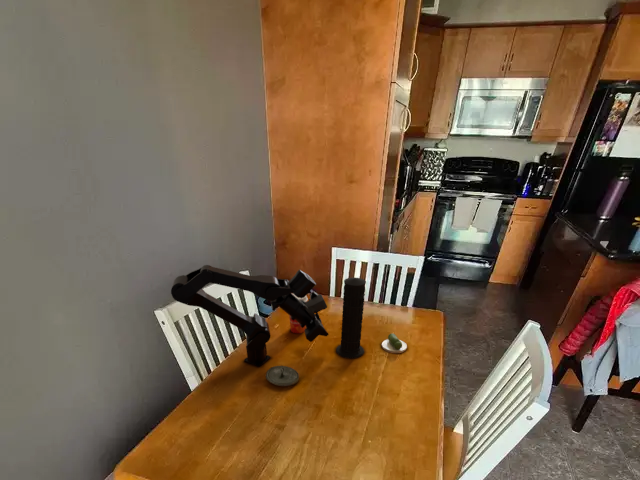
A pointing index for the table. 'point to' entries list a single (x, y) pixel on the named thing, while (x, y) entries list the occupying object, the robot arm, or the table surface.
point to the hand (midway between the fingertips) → (327, 334)
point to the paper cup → (294, 324)
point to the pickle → (394, 344)
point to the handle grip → (352, 318)
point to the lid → (282, 376)
